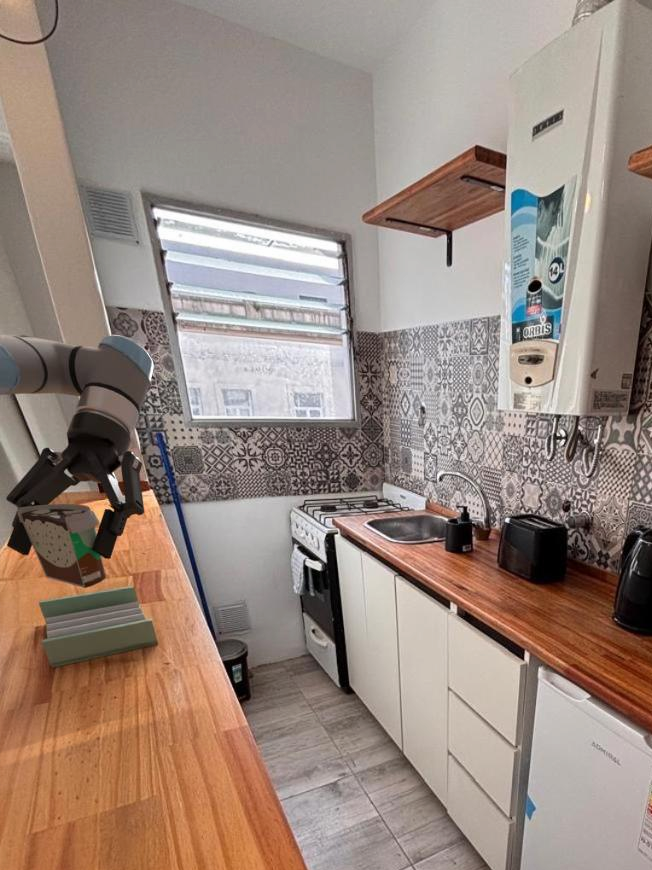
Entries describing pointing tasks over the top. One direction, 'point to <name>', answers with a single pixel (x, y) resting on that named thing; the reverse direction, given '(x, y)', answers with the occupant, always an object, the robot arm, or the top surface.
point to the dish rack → (95, 625)
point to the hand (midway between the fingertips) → (59, 552)
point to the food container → (64, 542)
